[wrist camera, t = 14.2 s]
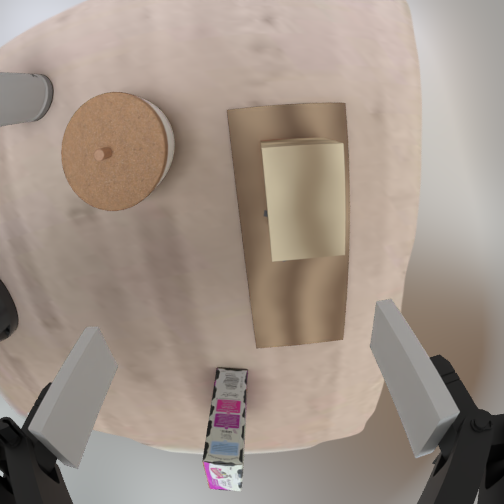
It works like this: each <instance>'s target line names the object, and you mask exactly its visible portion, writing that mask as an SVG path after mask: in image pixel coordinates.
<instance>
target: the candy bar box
mask: <svg viewBox="0 0 504 504" xmlns="http://www.w3.org/2000/svg"><path fill="white" fill-rule="evenodd" d="M247 375H248V370H242V369H227V368H217V370H216V377H215V383H214V390H213V397H212V402H211V409H210V415H209V422H208V428H207V434H206V441H205V448H204V455H203V461H202V462H203V466H204V469H205V473H206V477H207V481H208V485H209V488H210V489H218V490H232V491H241V489H242V479H243V465H244V445H245V426H246V405H247Z"/></svg>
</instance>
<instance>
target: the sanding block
mask: <svg viewBox="0 0 504 504" xmlns="http://www.w3.org/2000/svg"><path fill="white" fill-rule="evenodd" d="M260 143H261V153H262V163H263V173H264V183H265V193H266V204H267V215H268V225H269V235H270V244H271V254H272V262H274V261H285V260H296V259H307V258H318V257H329V256H339V255H345V166H344V144H343V143H340V142H337V141H333V140H330V139H326V138H322V137H303V138H287V139H273V140H262V141H260Z"/></svg>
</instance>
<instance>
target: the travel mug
mask: <svg viewBox="0 0 504 504" xmlns="http://www.w3.org/2000/svg"><path fill="white" fill-rule="evenodd" d="M52 94H53V90H52V84H51V82H50V80H49V79H48V78H47V77H46V76H44V75H39V74H25V73H2V72H0V126H6V125H12V124H18V123H25V122H33V121H37V120H39V119H40V118H42V117H43V116H44V115H45V113H46V112H47V110H48V108H49V106H50V104H51V100H52Z"/></svg>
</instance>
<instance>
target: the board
mask: <svg viewBox="0 0 504 504" xmlns="http://www.w3.org/2000/svg"><path fill="white" fill-rule="evenodd" d="M227 115H228V124H229V132H230V141H231V149H232V158H233V166H234V174H235V182H236V191H237V199H238V207H239V215H240V223H241V231H242V239H243V247H244V255H245V263H246V271H247V279H248V286H249V294H250V302H251V310H252V317H253V325H254V333H255V340H256V348H268V347H280V346H291V345H301V344H311V343H319V342H328V341H336V340H343V336H344V325H345V313H346V300H347V285H348V265H349V233H350V185H349V153H348V134H347V119H346V106H345V103H309V104H287V105H273V106H260V107H250V108H241V109H232V110H227ZM303 137H322V138H326V139H330V140H333V141H337V142H340V143H343V144H344V166H345V255H339V256H329V257H318V258H307V259H296V260H285V261H274V262H272V254H271V244H270V235H269V225H268V215H267V204H266V193H265V183H264V173H263V163H262V153H261V143H260V141H262V140H273V139H287V138H303Z"/></svg>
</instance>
